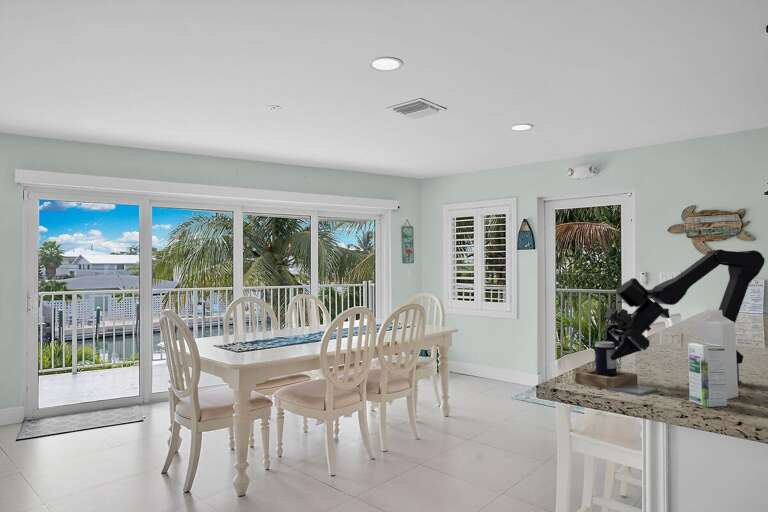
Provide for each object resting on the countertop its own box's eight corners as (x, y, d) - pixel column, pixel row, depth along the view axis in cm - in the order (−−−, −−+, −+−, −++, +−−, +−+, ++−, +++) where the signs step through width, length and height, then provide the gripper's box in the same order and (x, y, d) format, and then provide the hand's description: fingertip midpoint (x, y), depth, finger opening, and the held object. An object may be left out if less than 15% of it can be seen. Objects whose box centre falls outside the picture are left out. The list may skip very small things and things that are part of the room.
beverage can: (612, 381, 149) (611, 340, 149) (619, 385, 143) (618, 343, 143) (593, 381, 149) (591, 341, 150) (599, 385, 143) (597, 343, 144)
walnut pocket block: (637, 384, 144) (637, 373, 145) (613, 390, 138) (613, 379, 138) (599, 377, 154) (599, 368, 154) (575, 382, 148) (575, 372, 148)
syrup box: (688, 401, 124) (686, 342, 125) (711, 400, 125) (708, 342, 125) (705, 407, 119) (702, 345, 119) (728, 406, 119) (725, 345, 120)
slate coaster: (657, 390, 136) (657, 388, 136) (639, 395, 131) (639, 393, 131) (625, 385, 144) (625, 383, 144) (607, 389, 139) (607, 387, 139)
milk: (738, 396, 128) (735, 310, 129) (725, 400, 125) (722, 311, 126) (713, 392, 134) (710, 309, 135) (700, 395, 131) (697, 310, 132)
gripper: (609, 297, 156) (573, 333, 156) (636, 300, 138) (596, 341, 137) (635, 322, 155) (600, 358, 155) (667, 329, 137) (626, 369, 137)
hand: (605, 356), depth 146 cm, fingers open, 9 cm apart
